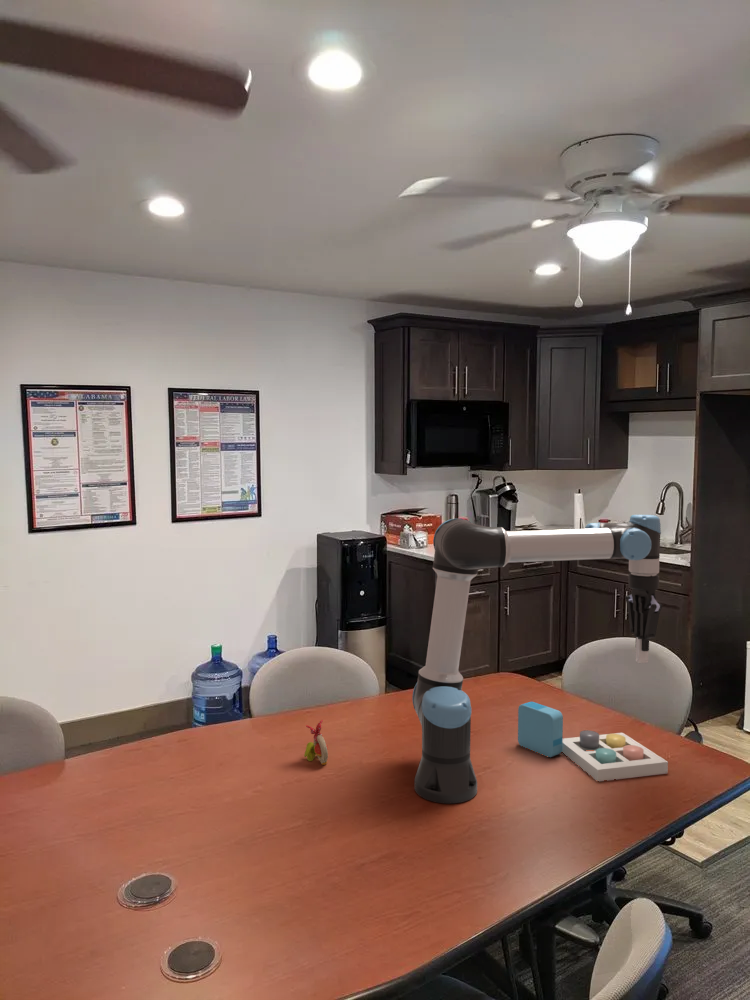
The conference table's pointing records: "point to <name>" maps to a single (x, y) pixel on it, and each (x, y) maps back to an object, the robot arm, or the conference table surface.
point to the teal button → (605, 755)
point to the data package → (540, 728)
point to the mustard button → (615, 740)
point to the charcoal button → (589, 739)
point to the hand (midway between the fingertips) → (641, 662)
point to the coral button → (633, 752)
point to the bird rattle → (317, 746)
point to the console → (621, 767)
